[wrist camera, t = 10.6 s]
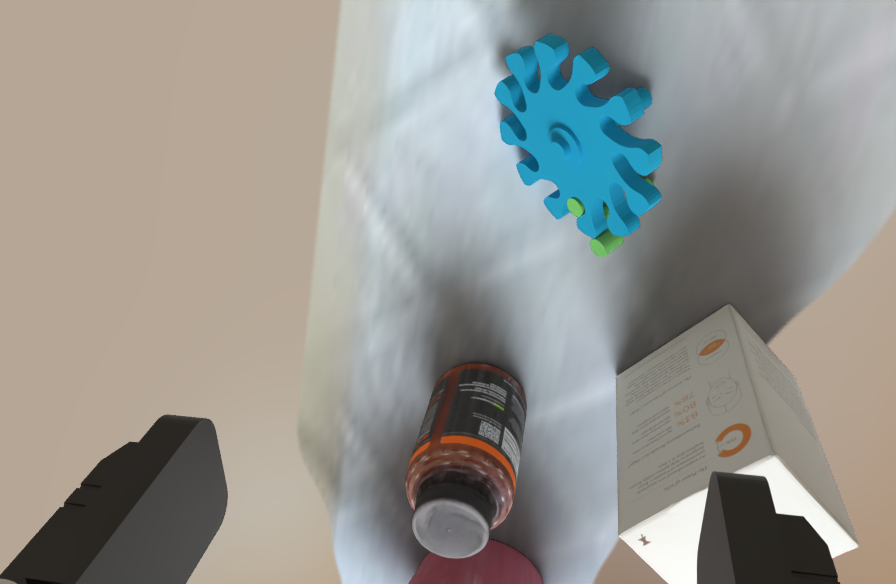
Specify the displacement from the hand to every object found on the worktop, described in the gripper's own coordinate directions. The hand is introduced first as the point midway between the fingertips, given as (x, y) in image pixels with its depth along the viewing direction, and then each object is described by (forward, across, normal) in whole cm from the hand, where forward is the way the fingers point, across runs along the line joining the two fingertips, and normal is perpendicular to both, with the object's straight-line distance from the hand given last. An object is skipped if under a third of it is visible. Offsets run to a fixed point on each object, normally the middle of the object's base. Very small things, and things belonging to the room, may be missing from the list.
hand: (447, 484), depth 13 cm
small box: (+30, -9, +17) cm, 36 cm away
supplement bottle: (+30, +4, +20) cm, 37 cm away
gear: (+30, -1, +3) cm, 31 cm away
